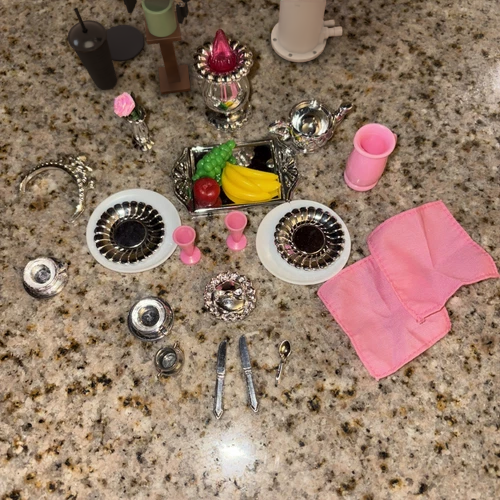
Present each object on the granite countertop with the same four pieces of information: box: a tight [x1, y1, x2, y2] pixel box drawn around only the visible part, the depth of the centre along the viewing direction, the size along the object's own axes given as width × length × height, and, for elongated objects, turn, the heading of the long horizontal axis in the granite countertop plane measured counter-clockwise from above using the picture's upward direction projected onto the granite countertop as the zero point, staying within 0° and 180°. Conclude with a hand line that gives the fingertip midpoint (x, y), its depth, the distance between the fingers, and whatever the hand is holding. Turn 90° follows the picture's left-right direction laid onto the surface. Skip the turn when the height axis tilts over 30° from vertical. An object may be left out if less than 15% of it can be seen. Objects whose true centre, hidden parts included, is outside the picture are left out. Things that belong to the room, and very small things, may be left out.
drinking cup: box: [67, 7, 118, 91], centre depth 99 cm, size 8×8×20 cm
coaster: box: [106, 24, 145, 62], centre depth 112 cm, size 10×10×1 cm
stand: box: [144, 10, 192, 95], centre depth 101 cm, size 6×6×16 cm
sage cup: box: [141, 0, 177, 37], centre depth 91 cm, size 6×6×6 cm
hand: (157, 12), depth 90 cm, fingers open, 9 cm apart
